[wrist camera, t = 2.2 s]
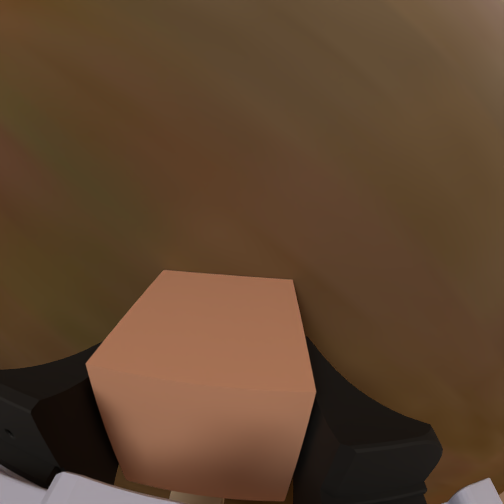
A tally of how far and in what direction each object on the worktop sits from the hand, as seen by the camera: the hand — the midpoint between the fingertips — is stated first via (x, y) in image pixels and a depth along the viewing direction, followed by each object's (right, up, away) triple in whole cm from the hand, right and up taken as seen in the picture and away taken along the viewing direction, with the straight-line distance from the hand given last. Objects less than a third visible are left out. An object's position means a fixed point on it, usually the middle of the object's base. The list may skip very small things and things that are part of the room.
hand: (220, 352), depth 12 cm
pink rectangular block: (0, 0, +2) cm, 2 cm away
